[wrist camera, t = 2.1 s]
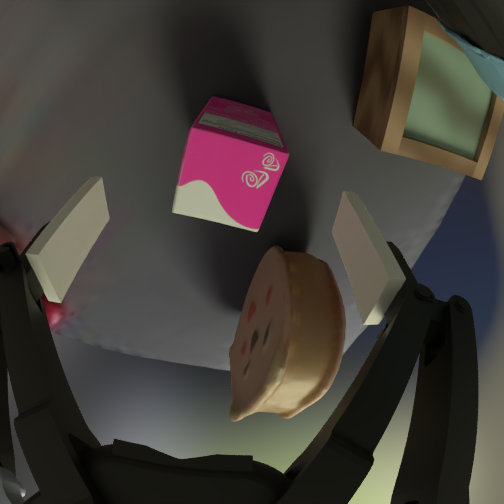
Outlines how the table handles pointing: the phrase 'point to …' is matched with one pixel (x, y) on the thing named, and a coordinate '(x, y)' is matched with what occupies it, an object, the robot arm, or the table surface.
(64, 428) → the robot arm
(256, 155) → the supplement box
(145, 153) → the table surface
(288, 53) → the table surface
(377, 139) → the frame
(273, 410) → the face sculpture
